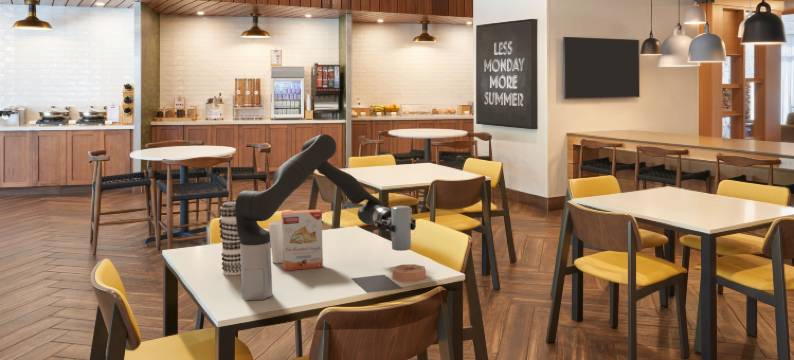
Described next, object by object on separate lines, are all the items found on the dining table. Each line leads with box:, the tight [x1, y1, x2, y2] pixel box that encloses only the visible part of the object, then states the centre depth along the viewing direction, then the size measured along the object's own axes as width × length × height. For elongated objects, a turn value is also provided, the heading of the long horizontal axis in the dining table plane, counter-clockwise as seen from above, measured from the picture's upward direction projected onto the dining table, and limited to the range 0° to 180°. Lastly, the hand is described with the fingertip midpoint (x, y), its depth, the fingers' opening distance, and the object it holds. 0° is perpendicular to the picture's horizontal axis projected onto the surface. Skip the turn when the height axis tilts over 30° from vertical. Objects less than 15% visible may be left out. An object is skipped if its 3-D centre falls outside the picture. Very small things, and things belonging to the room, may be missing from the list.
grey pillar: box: [390, 205, 412, 252], centre depth 226 cm, size 6×6×14 cm
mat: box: [350, 274, 404, 294], centre depth 222 cm, size 18×12×1 cm, turn 21°
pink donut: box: [392, 263, 427, 283], centre depth 229 cm, size 11×11×4 cm
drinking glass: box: [268, 220, 283, 264], centre depth 253 cm, size 7×7×15 cm
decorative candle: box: [218, 201, 241, 276], centre depth 240 cm, size 9×9×25 cm
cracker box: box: [281, 209, 324, 271], centre depth 244 cm, size 14×6×21 cm, turn 105°
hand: (403, 228), depth 224 cm, fingers closed on grey pillar, 6 cm apart
